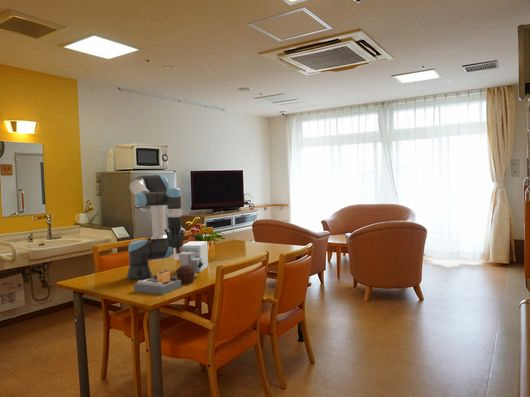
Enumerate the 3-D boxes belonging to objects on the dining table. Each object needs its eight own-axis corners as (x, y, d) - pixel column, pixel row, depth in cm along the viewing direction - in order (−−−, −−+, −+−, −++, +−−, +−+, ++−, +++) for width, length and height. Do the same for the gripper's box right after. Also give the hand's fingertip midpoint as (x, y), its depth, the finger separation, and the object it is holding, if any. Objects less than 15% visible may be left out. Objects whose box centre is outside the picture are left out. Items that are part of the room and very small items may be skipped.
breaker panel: (134, 291, 223) (133, 281, 223) (153, 284, 238) (153, 274, 238) (162, 294, 215) (162, 284, 215) (181, 286, 229) (180, 277, 229)
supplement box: (190, 266, 284) (189, 241, 283) (208, 266, 282) (207, 241, 281) (181, 272, 267) (180, 245, 266) (200, 272, 265) (199, 245, 264)
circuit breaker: (200, 278, 249) (199, 254, 248) (178, 277, 252) (178, 253, 251) (204, 275, 256) (204, 252, 255) (183, 274, 259) (182, 251, 258)
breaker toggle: (157, 282, 222) (156, 272, 222) (164, 279, 228) (163, 270, 228) (163, 283, 221) (162, 273, 220) (170, 280, 226) (169, 270, 226)
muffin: (180, 285, 232) (180, 268, 232) (173, 282, 241) (172, 265, 241) (199, 282, 239) (198, 265, 238) (191, 278, 248) (190, 262, 247)
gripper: (160, 217, 218) (162, 260, 219) (180, 217, 212) (181, 261, 213) (169, 215, 225) (171, 257, 226) (188, 216, 219) (190, 259, 220)
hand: (176, 259), depth 220 cm, fingers closed
